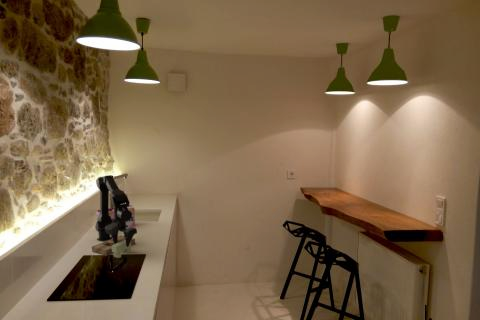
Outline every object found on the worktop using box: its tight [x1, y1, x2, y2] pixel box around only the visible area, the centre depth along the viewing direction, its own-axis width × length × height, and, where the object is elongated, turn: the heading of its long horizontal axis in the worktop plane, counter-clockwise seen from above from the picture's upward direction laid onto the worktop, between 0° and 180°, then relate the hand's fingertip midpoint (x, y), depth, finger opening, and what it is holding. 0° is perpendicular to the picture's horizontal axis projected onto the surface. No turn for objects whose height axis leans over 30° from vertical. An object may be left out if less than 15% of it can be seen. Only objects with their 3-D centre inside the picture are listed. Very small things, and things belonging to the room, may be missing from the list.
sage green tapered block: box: [112, 240, 132, 259], centre depth 184 cm, size 4×10×6 cm, turn 150°
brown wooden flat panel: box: [91, 235, 136, 257], centre depth 195 cm, size 12×20×3 cm, turn 150°
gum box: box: [96, 204, 136, 229], centre depth 229 cm, size 24×8×14 cm, turn 124°
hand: (121, 245), depth 184 cm, fingers open, 9 cm apart
